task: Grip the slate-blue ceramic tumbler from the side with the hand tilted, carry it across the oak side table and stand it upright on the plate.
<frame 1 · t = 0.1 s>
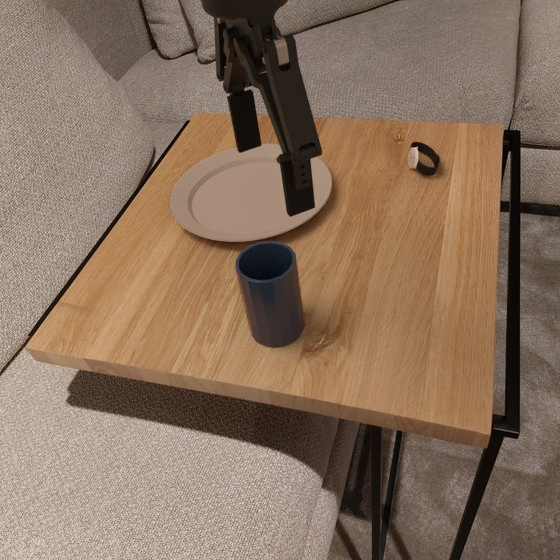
hand: (273, 177, 61), 20 cm above the table, tool pointing down, fingers open, 13 cm apart
plate: (252, 198, 93), on the table
tumbler: (277, 326, 73), on the table
watch: (423, 166, 94), on the table
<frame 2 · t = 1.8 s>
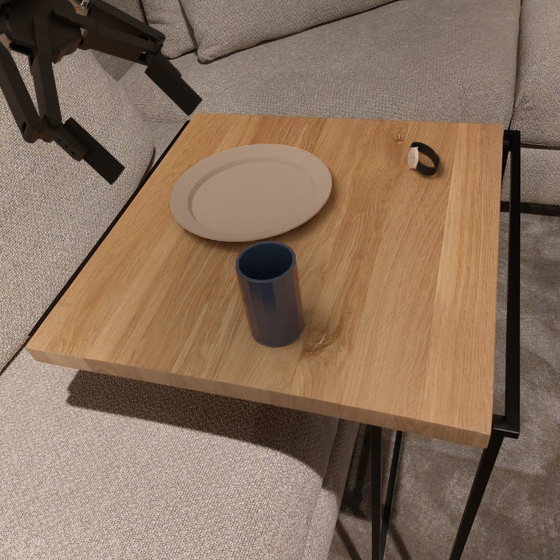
hand: (159, 140, 60), 25 cm above the table, tool tilted 45°, fingers open, 13 cm apart
nothing on the table moved.
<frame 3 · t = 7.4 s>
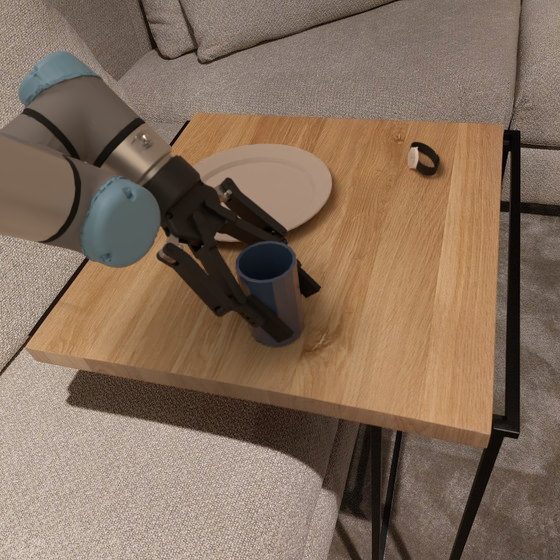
hand: (300, 314, 69), 3 cm above the table, tool tilted 45°, fingers closed on tumbler, 7 cm apart
tumbler: (277, 326, 73), on the table, touching gripper
everything else where it was.
when the fingers open (6 cm above the table, at t = 15.8 s): tumbler stays where it is, resting on plate.
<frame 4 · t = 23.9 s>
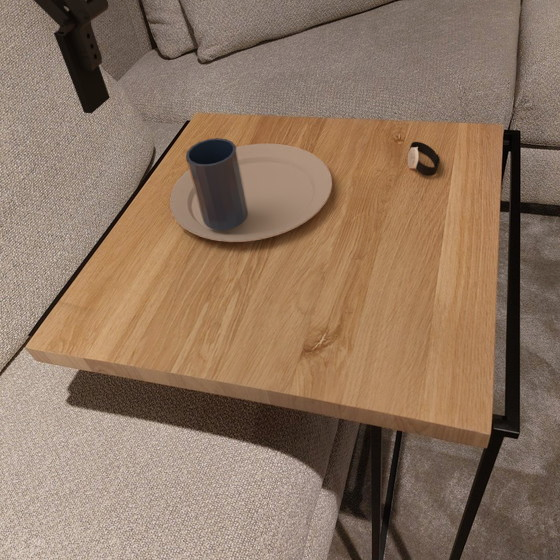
hand: (33, 99, 51), 33 cm above the table, tool pointing down, fingers open, 13 cm apart
plate: (252, 198, 93), on the table, touching tumbler
tumbler: (225, 215, 87), point 2 cm above the table, touching plate
everything else where it was.
at the end: tumbler inside the target area on the plate (7.5 cm from its centre), point 2.2 cm above the plate's base; tumbler tilted 0°; the gripper is holding nothing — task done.
